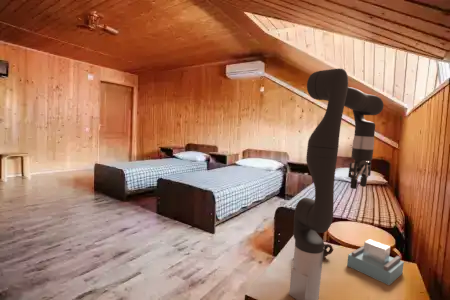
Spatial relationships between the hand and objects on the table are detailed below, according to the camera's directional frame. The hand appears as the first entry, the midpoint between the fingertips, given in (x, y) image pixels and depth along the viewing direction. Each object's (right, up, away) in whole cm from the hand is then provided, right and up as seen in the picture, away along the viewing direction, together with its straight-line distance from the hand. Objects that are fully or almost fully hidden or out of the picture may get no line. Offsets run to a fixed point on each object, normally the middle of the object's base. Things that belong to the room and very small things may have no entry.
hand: (358, 187), depth 106 cm
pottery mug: (-12, -33, +12) cm, 37 cm away
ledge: (+8, -35, +3) cm, 36 cm away
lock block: (+8, -30, +2) cm, 31 cm away
